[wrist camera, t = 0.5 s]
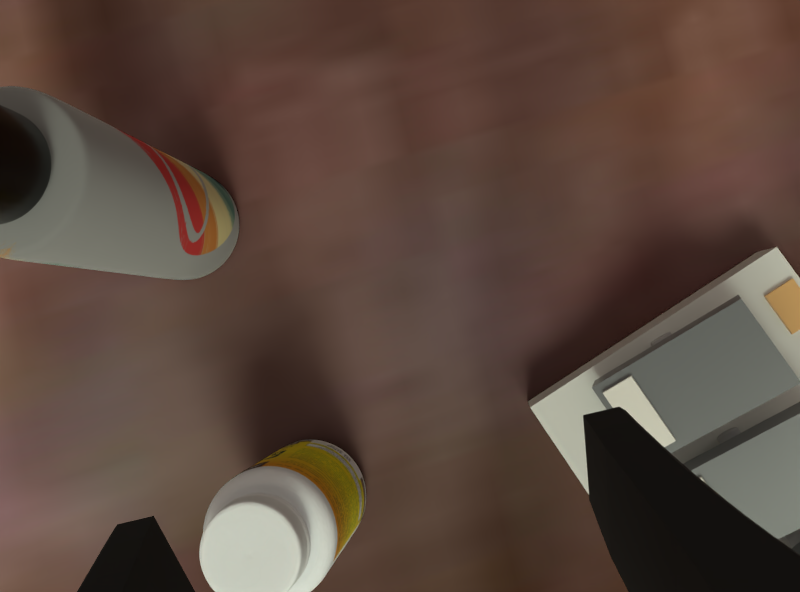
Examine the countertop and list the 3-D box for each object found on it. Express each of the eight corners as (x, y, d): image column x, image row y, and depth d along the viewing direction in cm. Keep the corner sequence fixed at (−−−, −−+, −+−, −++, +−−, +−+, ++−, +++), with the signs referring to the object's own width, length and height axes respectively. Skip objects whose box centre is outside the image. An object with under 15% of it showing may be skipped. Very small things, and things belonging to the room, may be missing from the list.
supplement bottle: (304, 414, 39) (236, 448, 28) (390, 483, 38) (352, 543, 28) (239, 501, 39) (149, 565, 29) (323, 571, 38) (262, 662, 28)
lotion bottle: (240, 169, 39) (-17, 16, 20) (243, 279, 39) (-14, 237, 19) (136, 175, 40) (-215, 34, 20) (138, 283, 40) (-214, 247, 20)
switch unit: (953, 522, 35) (1004, 544, 31) (708, 669, 36) (731, 707, 32) (757, 251, 36) (785, 244, 33) (527, 401, 37) (531, 410, 34)
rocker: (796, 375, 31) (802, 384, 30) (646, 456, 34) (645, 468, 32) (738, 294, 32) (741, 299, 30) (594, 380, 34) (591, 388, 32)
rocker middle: (870, 478, 31) (881, 493, 29) (713, 554, 33) (715, 570, 32) (810, 395, 31) (817, 405, 30) (660, 475, 33) (659, 488, 32)
